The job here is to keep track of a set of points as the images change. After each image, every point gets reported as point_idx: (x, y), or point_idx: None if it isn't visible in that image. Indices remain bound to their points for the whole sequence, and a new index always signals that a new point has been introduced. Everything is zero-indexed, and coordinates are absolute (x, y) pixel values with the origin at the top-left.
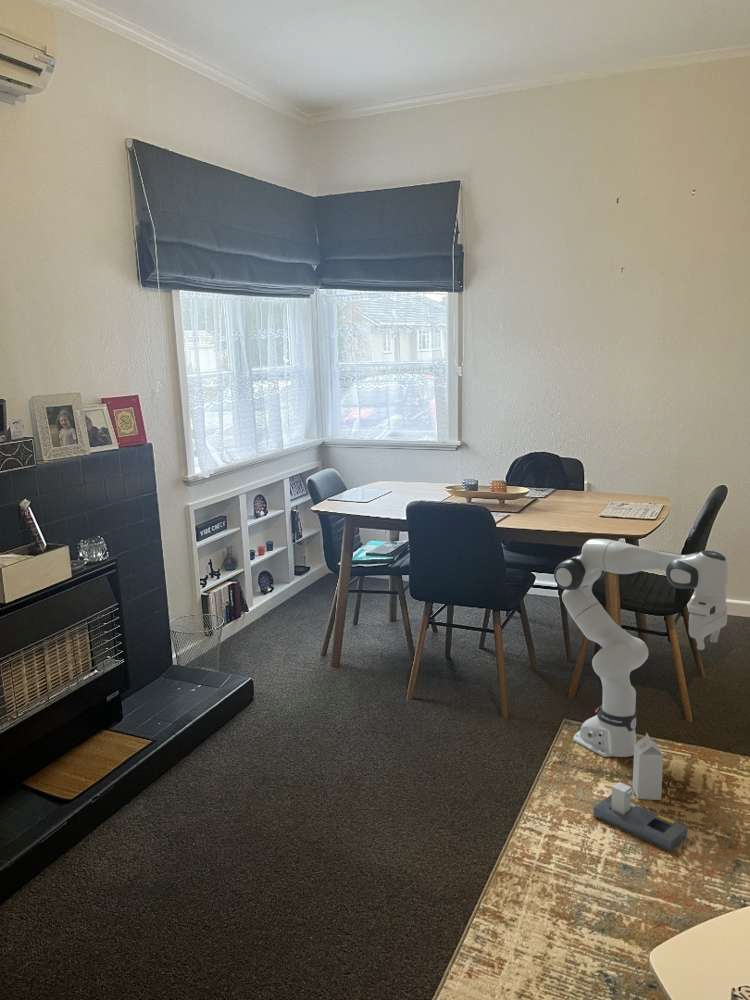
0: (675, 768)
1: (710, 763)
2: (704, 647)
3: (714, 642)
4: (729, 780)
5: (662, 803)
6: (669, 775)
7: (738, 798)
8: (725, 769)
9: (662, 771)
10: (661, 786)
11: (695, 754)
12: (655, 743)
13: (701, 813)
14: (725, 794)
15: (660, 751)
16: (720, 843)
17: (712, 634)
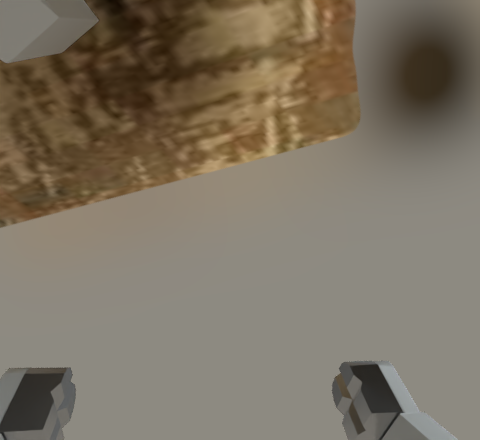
0: (226, 30)
1: (294, 91)
2: (60, 420)
3: (332, 386)
4: (244, 142)
5: (53, 60)
6: (184, 29)
7: (189, 173)
8: (285, 123)
9: (30, 58)
10: (47, 55)
11: (320, 48)
12: (47, 12)
13: (85, 138)
14: (187, 151)
15: (16, 47)
16: (21, 191)
17: (410, 435)
